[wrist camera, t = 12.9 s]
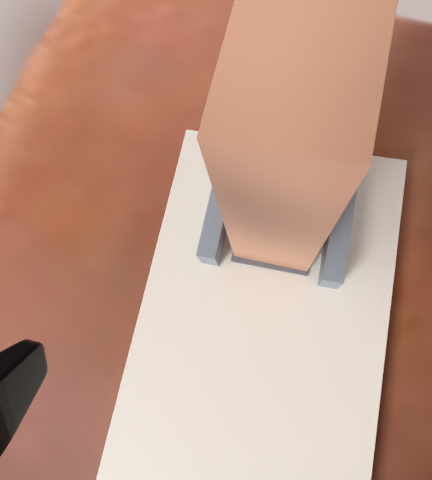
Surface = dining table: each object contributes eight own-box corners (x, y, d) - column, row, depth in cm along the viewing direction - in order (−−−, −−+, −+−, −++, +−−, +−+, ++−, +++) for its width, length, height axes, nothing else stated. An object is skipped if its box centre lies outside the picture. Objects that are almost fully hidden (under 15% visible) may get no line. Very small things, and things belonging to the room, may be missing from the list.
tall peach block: (306, 271, 21) (370, 166, 9) (234, 255, 22) (196, 137, 9) (323, 186, 22) (400, -16, 10) (253, 173, 23) (243, -31, 10)
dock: (355, 549, 19) (380, 604, 15) (104, 474, 21) (66, 506, 17) (400, 169, 23) (428, 133, 19) (189, 139, 26) (176, 101, 22)
